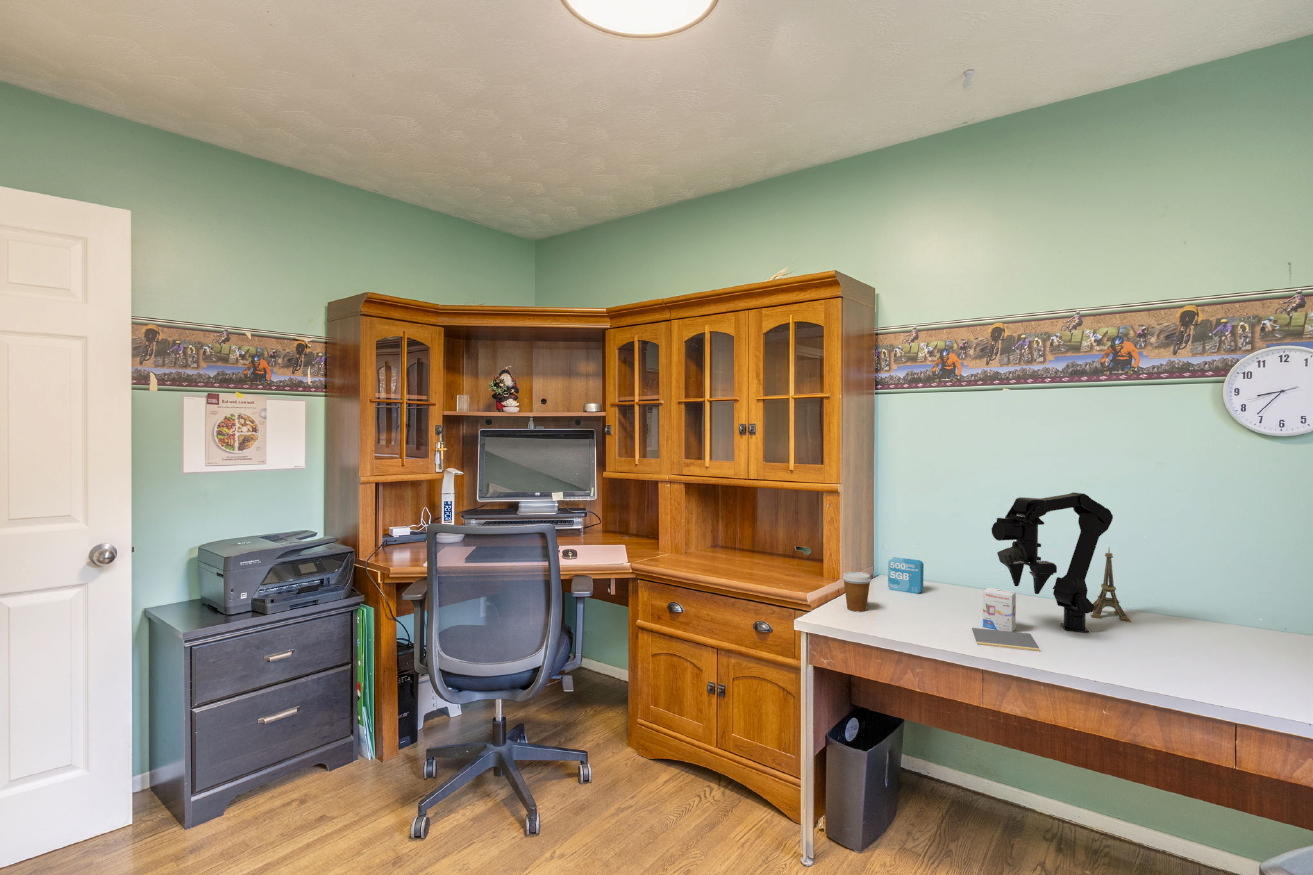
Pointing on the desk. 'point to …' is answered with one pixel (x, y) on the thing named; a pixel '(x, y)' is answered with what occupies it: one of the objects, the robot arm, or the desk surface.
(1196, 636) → the desk surface
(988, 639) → the mat
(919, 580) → the data package
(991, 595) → the ink box
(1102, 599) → the eiffel tower
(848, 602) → the disposable coffee cup
